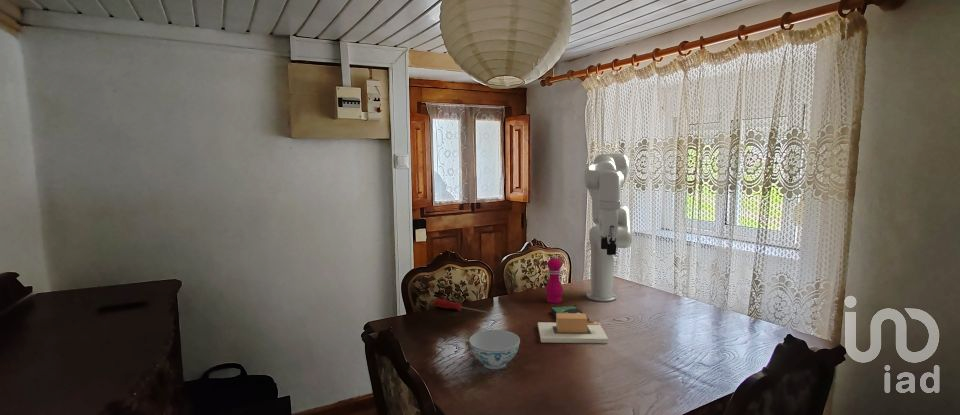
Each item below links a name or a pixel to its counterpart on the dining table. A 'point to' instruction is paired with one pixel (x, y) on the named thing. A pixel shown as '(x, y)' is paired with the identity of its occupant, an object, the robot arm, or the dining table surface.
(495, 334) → the chinaware
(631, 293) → the dining table surface
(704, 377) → the dining table surface
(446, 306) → the screwdriver
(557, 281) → the pepper mill
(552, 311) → the disk drive
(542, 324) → the board
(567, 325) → the plug housing
